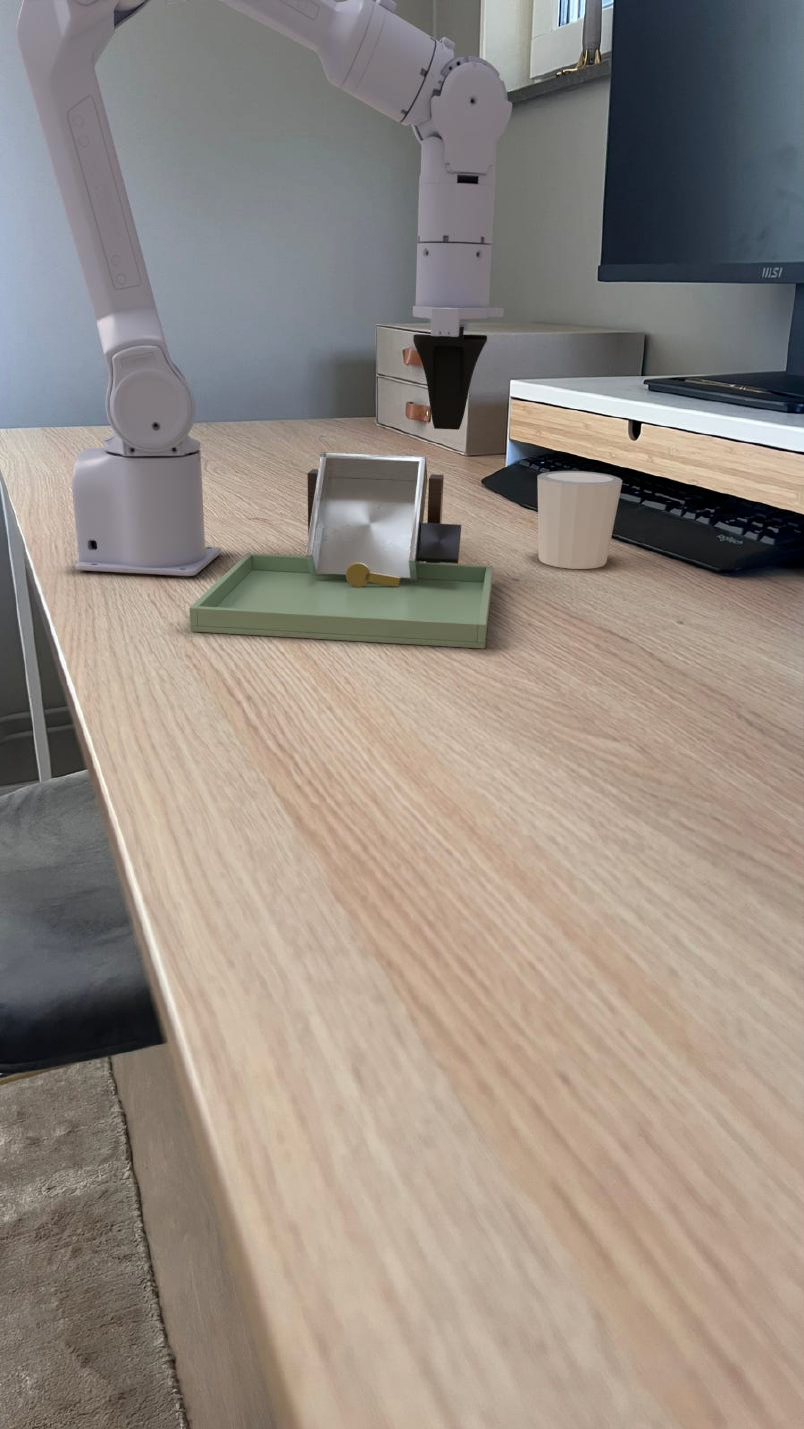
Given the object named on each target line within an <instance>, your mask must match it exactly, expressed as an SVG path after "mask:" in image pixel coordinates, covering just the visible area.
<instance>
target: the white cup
mask: <svg viewBox="0 0 804 1429" xmlns="http://www.w3.org/2000/svg"><path fill="white" fill-rule="evenodd" d="M622 485H623V480H622V479H621V478H620V477H619V476H615V475H612V474H607V473H601V472H595V471H586V470H585V471H583V470H557V471H556V470H555V471H547V472H542V473H539V474H538V475H537V523H538V524H537V526H538V527H537V529H538V530H537V531H538V533H537V534H538V535H537V536H538V538H537V539H538V559H539V562H540V563H543V564H545V565H547V566H551V567H555V568H562V569H568V570H569V569H570V570H588V569H589V570H590V569H598V568H601V567H604V566H605V565H606V564H607V561H608V556H609V551H610V546H611V541H612V536H613V531H614V526H615V520H616V516H617V510H618V507H619V506H618V505H619V500H620V495H621V490H622Z"/></svg>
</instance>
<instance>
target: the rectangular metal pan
mask: <svg viewBox="0 0 804 1429" xmlns="http://www.w3.org/2000/svg"><path fill="white" fill-rule="evenodd" d="M317 469H318V474H317V481H316V488H315V495H314V501H313V508H312V515H311V521H310V528H309V535H308V534H307V543H306V550H305V556H306V558H307V562H308V565H309V569H310V573H311V576H327V577H346V570H347V568H348V567H349V566H350V565H351V564H353V563H356V562H360V563H363V564H365V565H366V566H367V567H368V568H369V570H370V572H374V573H380V574H385V575H391V576H396V577H400V580H402V581H417V578H418V568H419V562H440V563H445V564H459V561H460V549H461V539H462V538H461V536H462V524H457V523H455V524H454V523H442V524H437V523H427V522H424V517H425V509H426V498H427V490H428V467H427V457H426V456H417V455H416V456H415V455H397V454H395V455H394V454H393V455H391V454H369V453H350V452H349V453H348V452H346V453H345V452H324V451H323V452H322V451H321V452H320V454H319V462H318V468H317Z"/></svg>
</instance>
